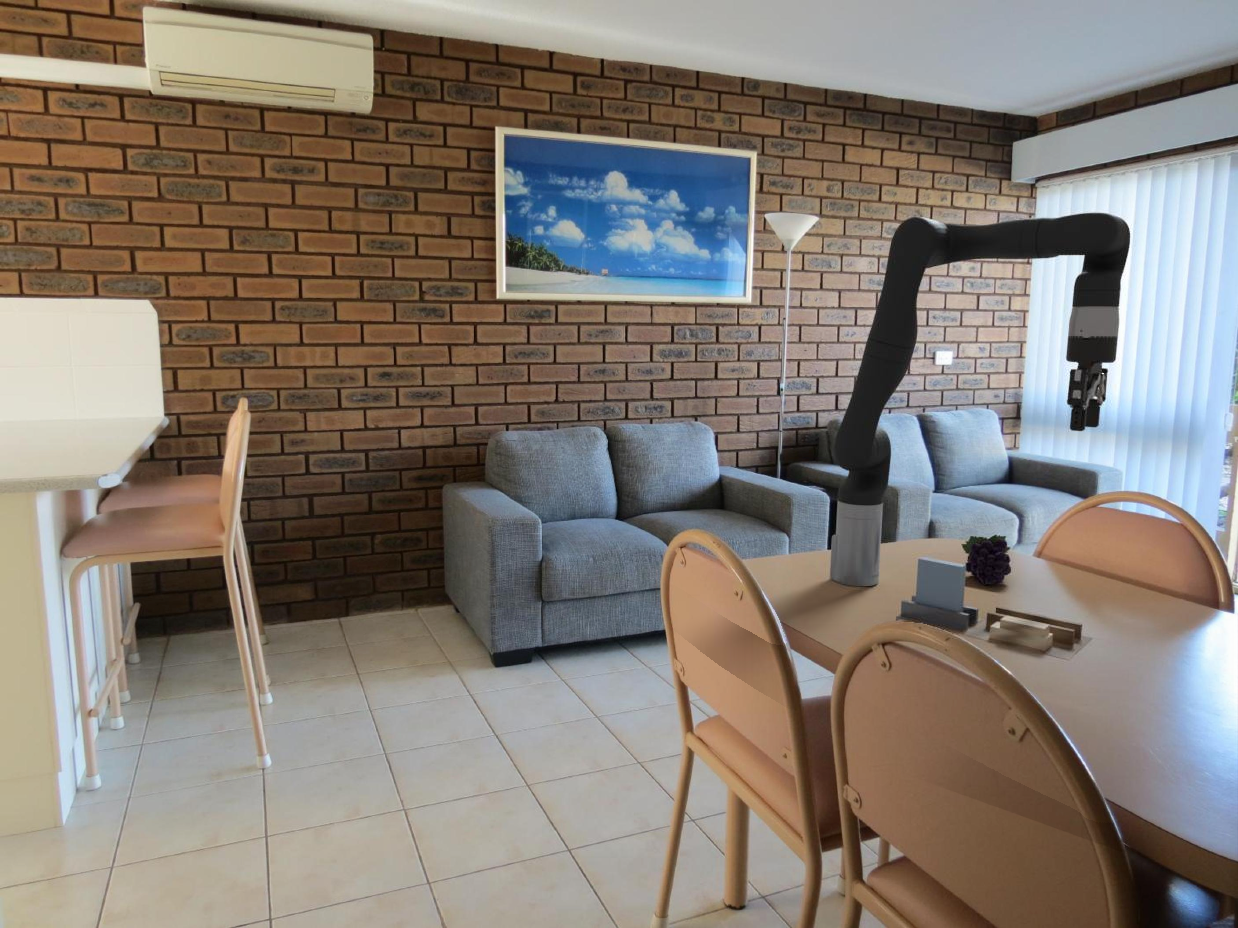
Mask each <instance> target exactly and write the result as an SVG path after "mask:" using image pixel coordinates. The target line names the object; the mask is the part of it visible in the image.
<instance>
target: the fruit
mask: <svg viewBox="0 0 1238 928" xmlns="http://www.w3.org/2000/svg"><path fill="white" fill-rule="evenodd" d="M1006 538H1007V536H1006V535H1002V536H1001V535H997V534H994V535H992V536H990V537H989V538H987V537H984V536H976V535H975V536H974V535H971V536H969V539H968V541H967V540H965V543H961V548H962V549H963V551H964V552H965V554H967V555H968V556H967V559H966V561H967V562H966V563H964V565H966V572H967V573H970V574H971V576H973V577H975V578H978V580H979V581H980V582H981V584H983V585H984V586H990V585H994V584H995V583H996V582H997V583H998V582H1002V581H1005V576H1008V575H1009V574H1011V573H1012V567H1011V565H1010V563H1011V557H1010V555H1009V554H1008V551H1010V549H1011V547H1010V546H1008V542H1007V540H1006Z"/></svg>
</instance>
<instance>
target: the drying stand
mask: <svg viewBox="0 0 1238 928" xmlns="http://www.w3.org/2000/svg"><path fill="white" fill-rule="evenodd" d="M900 602H901V603H900V604H901V605H900V606H901V607H900V614H898V615H896V618H895V620H896V621H899V620H901V619H906V620H910V621H914V622H918V623H923V624H927V625H931V626H936V627H939V628H943V629H948V630H952V631H957V632H961V633H963V632H966V630H967V629H968V630H969V629H970V628H972V627H973V626H974V625H975V624H976V625H977V624H978V623H980V621H981V619H980V618H979V608H977V607H974V606H968V605H964V604H963V613H962V612H957V611H953V610H948V609H944V608H939V607H935V606H930V605H925V604H921V603H916V594H912V595H911V600H907V599H903V600H901V601H900Z"/></svg>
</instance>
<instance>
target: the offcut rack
mask: <svg viewBox="0 0 1238 928" xmlns="http://www.w3.org/2000/svg"><path fill="white" fill-rule="evenodd" d="M1006 615H1007V616H1012V617H1016V618H1021V619H1026V620H1030V621H1035V622H1040V623H1044V624H1049V625H1050V632H1049V633H1052V634H1053V640H1052V646H1051V647H1049V648H1048V649H1047V650H1046V651H1045V650H1040V649H1036V648H1032V647H1028V646H1023V645H1019V644H1015V643H1010V642H1006V641H1002V640H998V639H993V638H989V634H990V626H991V625H993V624H994V623H996V622H997V621H998V622H1000V619H1002V618H1003V617H1005V616H1006ZM1082 631H1083V623H1080V622H1076V621H1070V620H1067V619H1061V618H1056V617H1052V616H1047V615H1042V614H1037V613H1032V612H1028V611H1023V610H1018V609H1013V608H1009V607H1003V606H999V605H997V606H995V612H992V611H988V612H987V613H986V619H984V620H981V622H978V623H976V625H975V626H974V625H973V626H972V627H970V628H969V629H968V630H967V631H966V630H965V631H964V633H963V632H962V633H961V635H962V636H966V637H969V638H975V639H978V640H982V641H986V642H992V643H995V644H999V645H1002V646H1003V645H1004V646H1008V647H1012V648H1016V649H1020V650H1025V651H1027V652H1028V651H1029V652H1033V653H1037V654H1041V655H1046V656H1049V657H1050V656H1051V657H1054V658H1057V659H1062V660H1067V661H1070V660H1071V659H1072V658H1073V657H1075V655H1077V653H1078V652H1079V651H1081V650H1082V649H1083V648H1084V647H1085V646H1086V645H1087V644H1088V643H1090V641H1092V640H1093V638H1094V637H1089V636H1086V635H1082V634H1083V633H1082Z"/></svg>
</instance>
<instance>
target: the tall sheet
mask: <svg viewBox="0 0 1238 928" xmlns="http://www.w3.org/2000/svg"><path fill="white" fill-rule="evenodd" d="M966 572H967V571H966V565H965V563H964V564H963V563H959V562H951V561H948V560H943V559H937V558H932V557H931V558H930V557H927V556H926V557H925V556H921V557H918V558H917V573H916V575H917V576H916V587H915V588H916V589H915V591H916V592H915V595H916V603H921V604H925V605H930V606H935V607H939V608H944V609H948V610H953V611H957V612H962V613H963V605H964V601H965V591H966V590H965V587H966V574H967V573H966Z"/></svg>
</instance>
